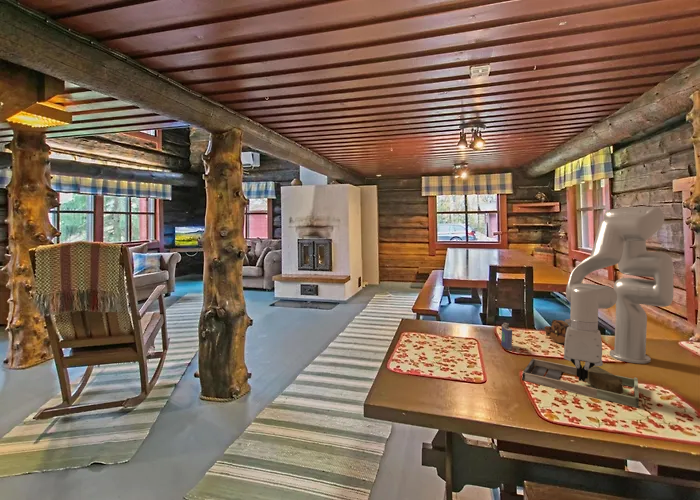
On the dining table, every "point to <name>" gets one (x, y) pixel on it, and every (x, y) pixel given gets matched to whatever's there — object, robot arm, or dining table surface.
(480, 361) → the dining table surface
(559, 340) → the wooden carving
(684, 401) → the dining table surface
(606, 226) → the robot arm
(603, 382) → the stone block
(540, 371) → the box
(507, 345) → the flask
